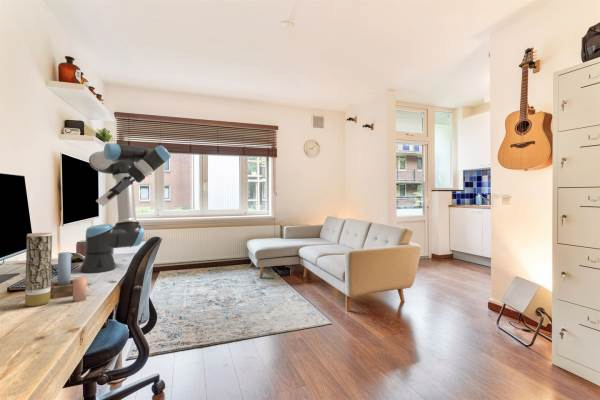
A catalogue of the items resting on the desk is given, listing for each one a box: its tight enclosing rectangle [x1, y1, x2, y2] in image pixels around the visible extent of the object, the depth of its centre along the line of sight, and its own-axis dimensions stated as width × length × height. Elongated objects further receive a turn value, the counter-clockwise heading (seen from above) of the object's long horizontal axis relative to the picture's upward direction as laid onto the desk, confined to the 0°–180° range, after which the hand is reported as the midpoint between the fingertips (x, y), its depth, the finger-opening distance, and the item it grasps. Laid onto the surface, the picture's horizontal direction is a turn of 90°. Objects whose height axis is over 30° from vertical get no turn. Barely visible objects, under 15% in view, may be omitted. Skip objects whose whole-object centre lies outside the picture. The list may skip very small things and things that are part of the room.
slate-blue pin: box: [56, 251, 72, 286], centre depth 117 cm, size 4×4×16 cm
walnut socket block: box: [50, 278, 74, 300], centre depth 117 cm, size 10×10×4 cm
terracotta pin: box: [72, 276, 88, 303], centre depth 111 cm, size 4×4×8 cm
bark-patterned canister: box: [24, 232, 53, 307], centre depth 106 cm, size 7×7×25 cm
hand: (99, 203), depth 127 cm, fingers open, 13 cm apart
